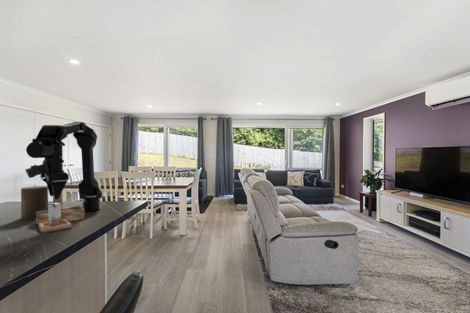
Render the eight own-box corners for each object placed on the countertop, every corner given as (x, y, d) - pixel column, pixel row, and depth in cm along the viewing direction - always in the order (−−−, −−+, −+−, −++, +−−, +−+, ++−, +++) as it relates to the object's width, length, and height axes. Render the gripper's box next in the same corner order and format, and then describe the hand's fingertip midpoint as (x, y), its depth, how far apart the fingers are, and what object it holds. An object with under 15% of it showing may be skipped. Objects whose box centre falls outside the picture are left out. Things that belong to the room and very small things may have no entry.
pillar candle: (42, 219, 112) (42, 185, 111) (16, 220, 109) (16, 186, 109) (51, 214, 121) (51, 182, 121) (27, 215, 118) (27, 183, 118)
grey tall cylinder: (59, 224, 102) (59, 202, 101) (62, 226, 99) (61, 203, 99) (47, 226, 99) (47, 203, 99) (49, 228, 96) (49, 205, 96)
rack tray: (65, 223, 105) (65, 219, 105) (71, 228, 99) (71, 223, 99) (38, 228, 99) (38, 223, 99) (42, 233, 92) (42, 228, 92)
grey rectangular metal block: (53, 214, 109) (53, 208, 109) (55, 215, 107) (54, 210, 106) (35, 217, 104) (35, 211, 104) (37, 218, 102) (37, 212, 102)
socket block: (79, 215, 118) (79, 205, 118) (84, 218, 112) (84, 208, 112) (36, 222, 106) (36, 211, 106) (39, 226, 101) (39, 215, 101)
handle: (65, 210, 128) (65, 180, 127) (50, 212, 124) (49, 181, 123) (65, 208, 132) (64, 179, 131) (50, 210, 128) (49, 180, 127)
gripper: (23, 157, 99) (24, 197, 99) (30, 158, 86) (31, 204, 86) (58, 156, 107) (58, 193, 107) (68, 157, 94) (69, 199, 94)
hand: (54, 197), depth 98 cm, fingers open, 9 cm apart
